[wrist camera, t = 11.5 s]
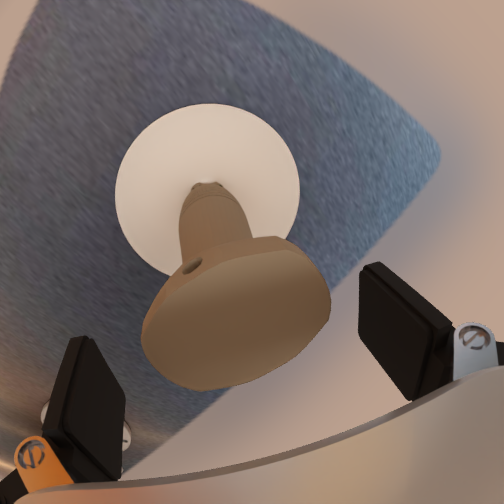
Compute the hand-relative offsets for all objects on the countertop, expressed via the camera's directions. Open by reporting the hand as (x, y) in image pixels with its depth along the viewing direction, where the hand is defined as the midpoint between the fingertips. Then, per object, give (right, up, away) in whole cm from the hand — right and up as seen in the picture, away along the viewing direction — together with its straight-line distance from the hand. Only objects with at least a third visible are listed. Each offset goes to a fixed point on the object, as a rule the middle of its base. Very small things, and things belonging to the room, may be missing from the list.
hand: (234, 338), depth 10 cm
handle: (-3, +7, +13) cm, 15 cm away
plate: (-3, +7, +14) cm, 16 cm away
